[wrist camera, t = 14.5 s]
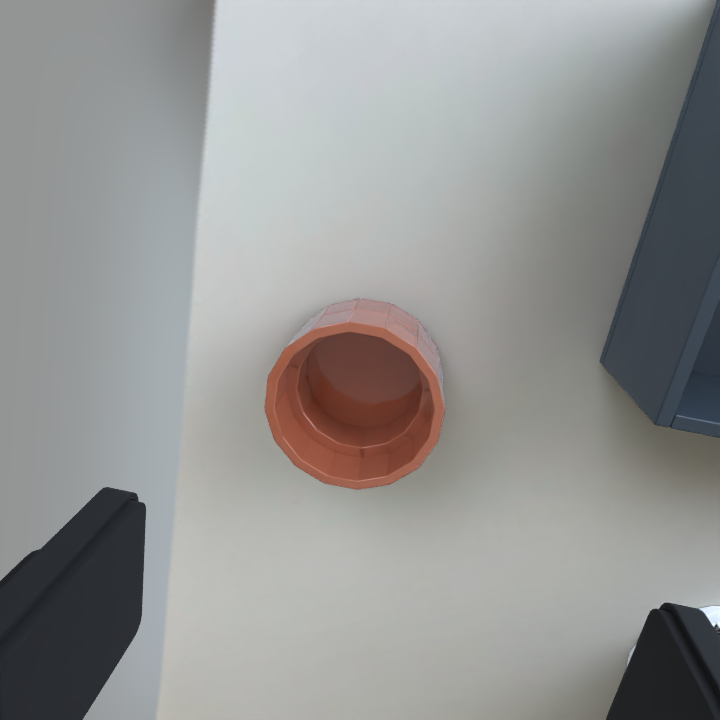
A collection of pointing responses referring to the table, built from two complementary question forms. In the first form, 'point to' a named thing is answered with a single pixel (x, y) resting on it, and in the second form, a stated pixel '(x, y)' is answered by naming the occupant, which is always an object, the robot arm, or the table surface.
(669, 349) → the tub
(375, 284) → the table surface
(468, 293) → the table surface
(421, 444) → the terracotta flower pot
